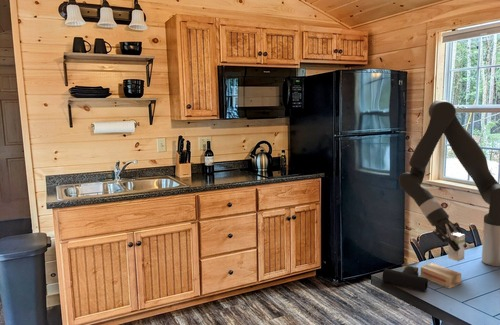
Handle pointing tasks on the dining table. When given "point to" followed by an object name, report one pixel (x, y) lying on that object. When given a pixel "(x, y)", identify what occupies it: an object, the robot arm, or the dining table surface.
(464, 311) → the dining table surface
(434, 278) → the block
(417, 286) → the pipe connector
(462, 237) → the jack column
